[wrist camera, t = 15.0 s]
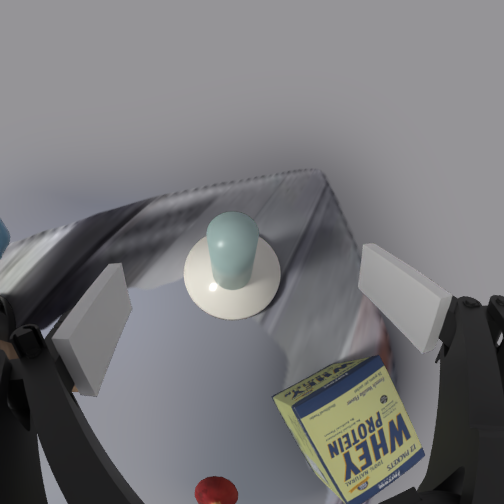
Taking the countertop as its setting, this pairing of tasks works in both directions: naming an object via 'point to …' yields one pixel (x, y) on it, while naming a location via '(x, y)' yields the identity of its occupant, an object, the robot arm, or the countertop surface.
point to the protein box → (351, 427)
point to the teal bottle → (232, 248)
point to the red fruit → (216, 491)
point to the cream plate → (232, 301)
